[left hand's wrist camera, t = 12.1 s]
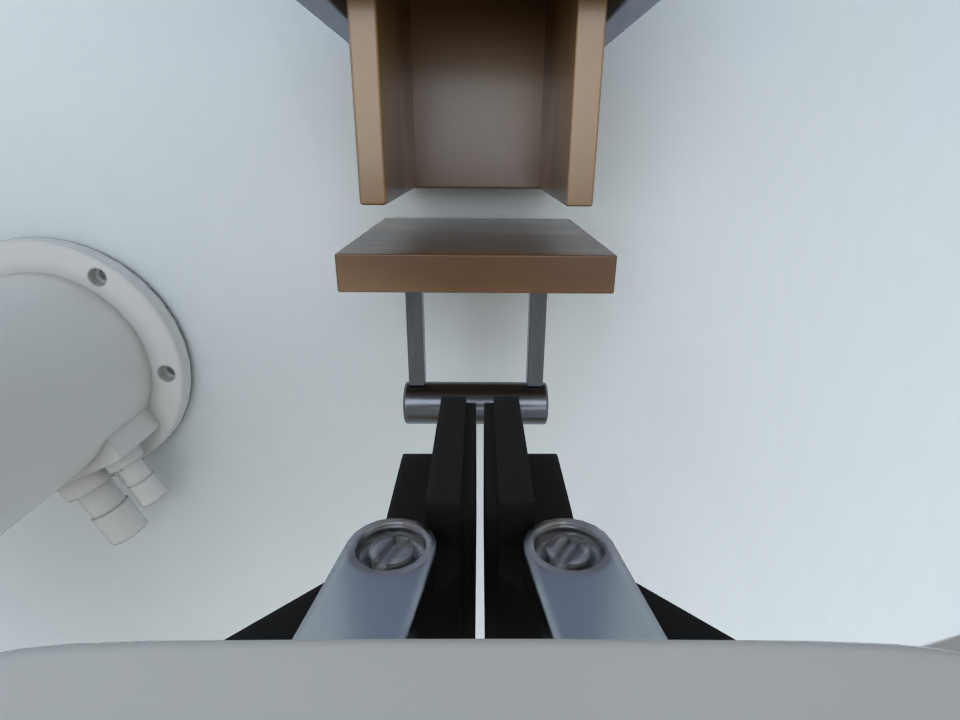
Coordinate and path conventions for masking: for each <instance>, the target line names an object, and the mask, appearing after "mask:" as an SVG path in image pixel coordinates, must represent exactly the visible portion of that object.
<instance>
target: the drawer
mask: <svg viewBox="0 0 960 720" xmlns="http://www.w3.org/2000/svg"><path fill="white" fill-rule="evenodd" d="M346 1H347V16H348V31H349V46H350V61H351V75H352V90H353V105H354V120H355V135H356V150H357V165H358V180H359V195H360V203H361V204H362V205H385V204H387V203H389V202H390V201H392V200H394V199H396V198H397V197H399V196H401V195H403V194H404V193H406V192H408V191H410V190H411V189H413V188H518V189H541V190H543V191H544V192H546V193H548V194H549V195H551V196H552V197H554V198H555V199H557V200H559V201H560V202H562V203H563V204H565V205H566V206H592V203H593V189H594V176H595V162H596V149H597V135H598V122H599V109H600V95H601V82H602V68H603V55H604V41H605V28H606V14H607V1H608V0H346ZM616 262H617V256H616V255H615V254H614V253H612V252H611V251H610V250H608V249H607V248H606V247H605V246H603V245H602V244H601V243H599V242H598V241H597V240H595V239H594V238H593V237H592V236H590V235H589V234H588V233H586V232H585V231H584V230H583V229H581V228H580V227H579V226H577V225H576V224H575V223H573V222H572V221H571V220H569V219H440V218H385V219H383V220H382V221H381V222H379V223H378V224H376V225H375V226H374V227H372V228H371V229H370V230H368V231H367V232H365V233H364V234H363V235H361V236H360V237H358V238H357V239H356V240H354V241H353V242H351V243H350V244H349V245H347V246H346V247H344V248H343V249H342V250H340V251H339V252H337V253H336V254H335V263H336V275H337V286H338V291H339V292H405V293H406V317H407V341H408V365H409V382H407V383H406V384H405V388H404V397H403V412H404V419H405V422H406V423H408V424H437V422H438V415H439V409H440V403H441V397H442V396H466V400H467V403H476V424H484V403H493V400H494V396H518V397H519V403H520V409H521V415H522V422H523V424H546V422H547V417H548V390H547V385H546V383H544V382H543V365H544V345H545V325H546V304H547V293H613V292H614V283H615V272H616ZM423 292H442V293H529V311H528V337H527V364H526V382H426V360H425V327H424V294H423Z"/></svg>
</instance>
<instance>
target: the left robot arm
mask: <svg viewBox="0 0 960 720" xmlns="http://www.w3.org/2000/svg"><path fill="white" fill-rule="evenodd" d="M190 389H191V368H190V360H189V357H188V353H187V349H186V345H185V341H184V339H183V337H182V335H181V333H180V331H179V328H178V326H177V324H176V322H175V320H174V318H173V317H172V315H171V314H170V313H169V311H168V310H167V308H166V307H165V305H164V304H163V302H162V301H161V299H160V298H159V297H158V296H157V295H156V294H155V293H154V292H153V291H152V290H151V289H150V288H149V287H148V286H147V285H146V284H145V283H144V282H143V281H142V280H141V279H140V278H139V277H137V276H136V275H135V274H133V273H132V272H131V271H130V270H128V269H127V268H126V267H124V266H123V265H122V264H120V263H118V262H117V261H115V260H113V259H111V258H109V257H107V256H106V255H104V254H102V253H100V252H98V251H96V250H93V249H91V248H88V247H85V246H82V245H79V244H76V243H74V242H70V241H64V240H58V239H53V238H47V237H39V238H18V239H13V240H7V241H0V535H2V534H3V533H4V532H5V531H7V530H8V529H9V528H10V527H12V526H13V525H14V524H15V523H17V522H18V521H19V520H20V519H22V518H23V517H24V516H25V515H26V514H28V513H29V512H30V511H31V510H33V509H34V508H35V507H36V506H38V505H39V504H40V503H41V502H43V501H44V500H45V499H46V498H48V497H49V496H50V495H51V494H53V493H54V492H55V491H56V490H57V491H58V492H59V493H60V494H61V496H62V497H63V498H64V499H65V500H66V501H67V502H72V501H75V500H78V501H79V502H80V503H81V504H82V506H83V507H84V508H85V509H86V510H87V512H88V513H89V514H90V515H91V516H92V519H91V520H92V521H93V523H94V524H95V525H96V526H97V527H98V528H99V530H100V531H101V532H102V533H103V534H104V535H105V537H106V538H107V539H108V540H109V541H110V543H111V544H112V545H117V544H120V543H122V542H124V541H126V540H128V539H129V538H131V537H132V536H134V535H135V534H136V533H138V532H139V531H140V530H141V529H142V528H143V527H144V526H145V525H146V524H147V522H148V520H147V519H146V517H145V516H144V515H143V514H142V513H141V511H140V510H139V509H138V508H137V506H136V505H135V504H134V503H133V501H132V500H131V499H130V498H129V496H128V495H124V494H123V493H122V491H121V490H120V489H119V488H118V486H117V485H116V484H115V483H114V481H113V480H112V479H111V477H112V476H113V475H114V474H115V473H116V472H117V473H118V474H119V475H120V477H121V478H122V479H123V480H124V482H125V483H126V484H127V485H128V487H127V488H128V489H129V490H130V491H131V493H132V494H133V495H134V496H135V497H136V499H137V500H138V501H139V502H140V504H141V505H142V506H143V507H145V506H148V505H150V504H152V503H154V502H156V501H157V500H158V499H160V498H161V497H162V496H163V495H165V494H166V493H167V491H168V489H167V488H166V487H165V485H164V484H163V483H162V482H161V480H160V479H159V478H158V476H157V475H156V474H155V473H154V471H151V470H150V468H149V467H148V466H147V465H146V463H145V462H144V461H143V460H142V458H143V457H145V456H146V455H148V454H149V453H151V452H152V451H154V450H155V449H156V448H158V447H159V446H160V445H161V444H162V443H163V442H164V441H165V440H166V439H167V438H168V437H169V436H170V435H171V434H172V432H173V431H174V430H175V428H176V427H177V426H178V424H179V423H180V422H181V419H182V417H183V415H184V412H185V410H186V407H187V405H188V401H189V395H190ZM475 604H476V403H467V400H466V396H442V397H441V403H440V409H439V415H438V422H437V428H436V434H435V441H434V447H433V453H432V454H403V457H402V460H401V464H400V468H399V472H398V476H397V480H396V484H395V488H394V491H393V495H392V499H391V503H390V507H389V511H388V515H387V519H384V520H379V521H376V522H373V523H371V524H368V525H366V526H364V527H363V528H361V529H360V530H358V531H357V532H355V533H354V534H353V536H352V537H351V538H350V539H349V541H348V542H347V544H346V545H345V547H344V549H343V551H342V553H341V554H340V556H339V558H338V560H337V561H336V563H335V565H334V567H333V568H332V570H331V572H330V574H329V575H328V577H327V579H326V581H325V582H324V583H323V584H321V585H319V586H318V587H316V588H314V589H312V590H311V591H309V592H307V593H305V594H304V595H302V596H300V597H298V598H297V599H295V600H293V601H291V602H290V603H288V604H286V605H284V606H283V607H281V608H279V609H278V610H276V611H274V612H272V613H271V614H269V615H267V616H265V617H264V618H262V619H260V620H258V621H257V622H255V623H253V624H251V625H250V626H248V627H246V628H244V629H243V630H241V631H239V632H237V633H236V634H234V635H232V636H230V637H229V638H227V639H225V640H200V641H136V642H109V643H82V644H62V645H53V646H43V647H33V648H23V649H17V650H11V651H6V652H1V653H0V720H960V653H959V652H954V651H948V650H943V649H936V648H927V647H917V646H907V645H898V644H878V643H851V642H825V641H762V640H735V639H733V638H731V637H730V636H728V635H726V634H724V633H723V632H721V631H719V630H717V629H716V628H714V627H712V626H710V625H709V624H707V623H705V622H703V621H702V620H700V619H698V618H696V617H695V616H693V615H691V614H689V613H688V612H686V611H684V610H682V609H681V608H679V607H677V606H676V605H674V604H672V603H670V602H669V601H667V600H665V599H663V598H662V597H660V596H658V595H656V594H655V593H653V592H651V591H649V590H648V589H646V588H644V587H642V586H641V585H639V584H637V583H636V582H635V581H634V579H633V577H632V575H631V574H630V572H629V570H628V568H627V567H626V565H625V563H624V561H623V560H622V558H621V556H620V554H619V553H618V551H617V549H616V547H615V545H614V544H613V542H612V541H611V539H610V538H609V537H608V536H607V534H606V533H605V532H603V531H602V530H600V529H599V528H597V527H596V526H594V525H592V524H589V523H587V522H584V521H581V520H576V519H573V515H572V511H571V507H570V503H569V499H568V495H567V491H566V488H565V484H564V480H563V476H562V472H561V468H560V464H559V460H558V457H557V454H528V453H527V447H526V441H525V434H524V428H523V422H522V415H521V409H520V403H519V397H518V396H494V400H493V403H484V604H485V639H475Z"/></svg>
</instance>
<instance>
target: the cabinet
mask: <svg viewBox="0 0 960 720" xmlns="http://www.w3.org/2000/svg"><path fill="white" fill-rule="evenodd" d="M297 1H298V2H299V3H300V4H301V5H303V6H304V7H305V8H306V9H308V10H309V11H310V12H311V13H312V14H314V15H315V16H316V17H317V18H319V19H320V20H321V21H322V22H323V23H325V24H326V25H327V26H328V27H330V28H331V29H332V30H333V31H334V32H336V33H337V34H338V35H339V36H341V37H342V38H343V39H344V40H346V41H347V42H348V43H349V31H348V16H347V1H346V0H297ZM659 1H660V0H608V1H607V14H606V28H605V41H604V47H605V46H606V45H607V44H608V43H610V42H611V41H612V40H613V39H614V38H616V37H617V36H618V35H619V34H620V33H622V32H623V31H624V30H625V29H626V28H628V27H629V26H630V25H631V24H632V23H634V22H635V21H636V20H637V19H638V18H640V17H641V16H642V15H643V14H644V13H646V12H647V11H648V10H649V9H650V8H652V7H653V6H654V5H655V4H656V3H658V2H659Z"/></svg>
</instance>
